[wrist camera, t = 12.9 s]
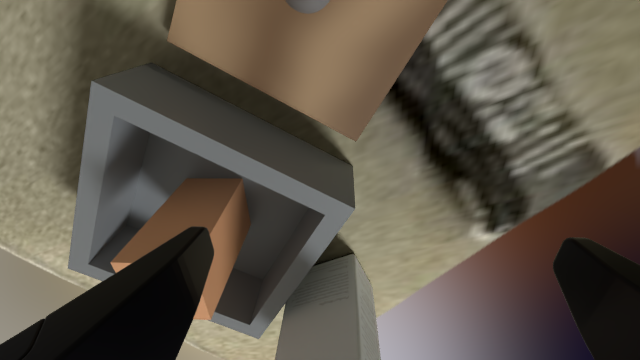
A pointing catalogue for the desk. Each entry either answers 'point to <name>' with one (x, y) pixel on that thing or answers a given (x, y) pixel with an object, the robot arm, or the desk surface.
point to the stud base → (309, 49)
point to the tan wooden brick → (205, 211)
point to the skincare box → (330, 315)
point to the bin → (205, 162)
